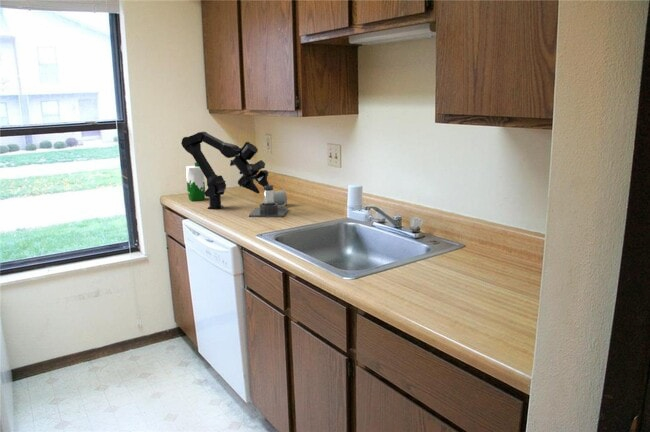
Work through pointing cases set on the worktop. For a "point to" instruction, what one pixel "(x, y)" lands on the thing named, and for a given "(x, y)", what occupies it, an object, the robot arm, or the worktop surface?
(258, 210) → the firebox collar
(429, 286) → the worktop surface
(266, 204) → the black capped shaker
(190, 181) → the milk carton
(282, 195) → the ceramic mug
